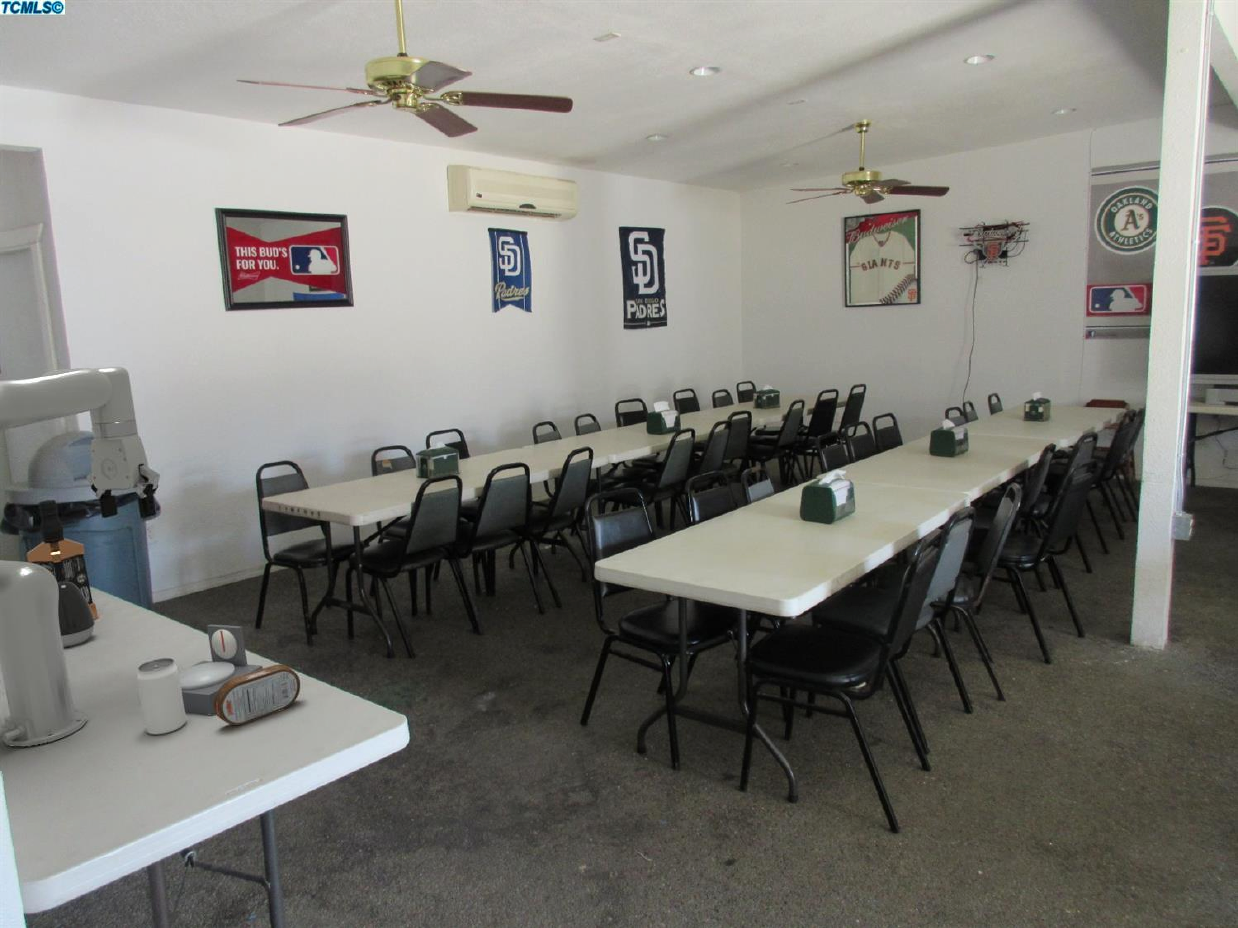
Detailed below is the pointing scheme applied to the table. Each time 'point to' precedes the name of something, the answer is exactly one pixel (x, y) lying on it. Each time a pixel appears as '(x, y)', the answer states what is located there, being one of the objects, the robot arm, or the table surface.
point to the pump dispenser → (73, 614)
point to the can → (161, 696)
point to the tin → (256, 694)
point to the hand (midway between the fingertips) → (129, 516)
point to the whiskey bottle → (61, 553)
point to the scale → (215, 669)
